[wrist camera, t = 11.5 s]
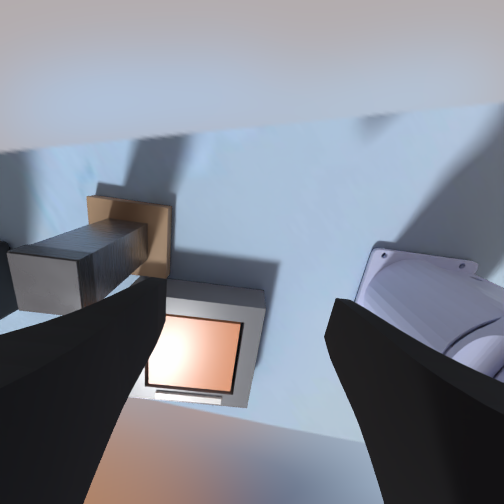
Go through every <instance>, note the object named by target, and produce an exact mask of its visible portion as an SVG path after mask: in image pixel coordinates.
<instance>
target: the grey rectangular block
mask: <svg viewBox="0 0 504 504" xmlns="http://www.w3.org/2000/svg"><path fill="white" fill-rule="evenodd" d="M7 252H8V253H7V258H8V262H9V267H10V272H11V276H12V281H13V285H14V290H15V295H16V299H17V304H18V309H19V310H20V311H29V312H38V313H47V314H56V315H66V314H69V313H71V312H74V311H76V310H79V309H82V308H84V307H86V306H89V305H91V304H93V303H96V302H98V301H100V300H102V299H104V298H105V297H106V296H107V295H108V294H109V293H110V292H111V291H113V290H114V289H115V288H116V287H117V286H118V285H119V284H120V283H122V282H123V281H124V280H125V279H126V278H127V277H128V276H129V275H131V274H132V273H133V272H134V271H135V270H136V269H137V268H138V267H140V266H141V265H142V264H143V263H144V262H145V261H146V260H147V259H148V223H142V222H134V221H127V220H119V219H112V218H107V219H104V220H101V221H98V222H95V223H92V224H89V225H86V226H83V227H81V228H78V229H75V230H72V231H69V232H66V233H63V234H60V235H57V236H55V237H52V238H49V239H46V240H43V241H40V242H37V243H34V244H31V245H28V244H27V245H24V246H21V247H18V248H15V249H12V250H9V251H7Z"/></svg>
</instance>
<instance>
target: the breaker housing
mask: <svg viewBox="0 0 504 504" xmlns="http://www.w3.org/2000/svg"><path fill="white" fill-rule="evenodd" d="M148 278H151V277H148V276H140V277H139V278H138V279H137V280H136V281H135V282H134V283H133V284H132V285H131V286H133V285H135V284H137V283H139V282H141V281H143V280H145V279H148ZM155 278H156V277H155ZM166 279H167V278H166ZM131 286H130V287H131ZM265 311H266V305H265V297H264V290H256V289H248V288H240V287H232V286H224V285H216V284H207V283H199V282H191V281H183V280H175V279H167V292H166V314H174V315H183V316H192V317H201V318H209V319H218V320H227V321H235V322H242V326H241V333H240V339H239V345H238V352H237V358H236V364H235V369H234V370H233V376H232V383H231V389H230V391H221V390H211V389H201V388H190V387H180V386H170V385H159V384H149V359H148V361H147V363H146V365H145V367H144V369H143V370H142V372H141V374H140V376H139V378H138V380H137V382H136V383H135V385H134V387H133V389H132V391H131V393H130V394H129V396H128V397H132V398H143V399H154V400H165V401H176V402H186V403H197V404H208V405H219V406H230V407H240V408H247V405H248V400H249V394H250V389H251V384H252V379H253V374H254V368H255V363H256V358H257V353H258V348H259V342H260V337H261V332H262V327H263V322H264V316H265Z"/></svg>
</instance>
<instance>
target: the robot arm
mask: <svg viewBox="0 0 504 504" xmlns="http://www.w3.org/2000/svg"><path fill="white" fill-rule="evenodd" d="M383 253H385V255H384V256H383V257H381V256H382V254H383ZM460 264H461V266H460V267H459V265H460ZM477 269H478V263H476V262H474V261H469V260H462V259H455V258H448V257H441V256H433V255H426V254H419V253H412V252H405V251H397V250H390V249H383V248H375V249H374V250H372V252H371V255H370V258H369V261H368V264H367V267H366V270H365V273H364V276H363V279H362V282H361V285H360V288H359V291H358V294H357V297H356V300H355V302H353V301H351V300H348V299H339V298H336V299H335V303H334V306H333V309H332V312H331V316H330V319H329V322H328V326H327V329H326V332H325V335H324V338H325V342H326V346H327V349H328V352H329V356H330V359H331V361H332V364H333V366H334V368H335V371H336V373H337V375H338V378H339V380H340V382H341V384H342V386H343V389H344V391H345V393H346V395H347V398H348V400H349V402H350V404H351V407H352V409H353V411H354V414H355V416H356V419H357V421H358V424H359V426H360V429H361V432H362V435H363V438H364V441H365V444H366V446H367V450H368V453H369V455H370V458H371V462H372V465H373V468H374V471H375V475H376V478H377V481H378V484H379V487H380V491H381V494H382V497H383V501H384V504H504V288H503V287H501V286H499V285H497V284H494V283H492V282H490V281H488V280H486V279H484V278H481V277H479V276H477V275H475V273H476V271H477ZM166 292H167V279H164V278H155V277H151V278H148V279H145V280H143V281H141V282H139V283H137V284H135V285H133V286H131V287H129V288H126V289H124V290H122V291H120V292H118V293H116V294H114V295H112V296H110V297H107V298H105V299H103V300H100V301H98V302H96V303H93V304H91V305H89V306H86V307H84V308H82V309H79V310H76V311H74V312H71V313H69V314H66V315H63V316H60V317H57V318H54V319H51V320H49V321H46V322H43V323H39V324H36V325H33V326H29V327H26V328H22V329H19V330H15V331H12V332H8V333H5V334H1V335H0V504H83V503H84V500H85V498H86V495H87V493H88V490H89V488H90V485H91V482H92V480H93V477H94V475H95V473H96V470H97V468H98V465H99V463H100V460H101V458H102V456H103V453H104V451H105V448H106V446H107V443H108V441H109V439H110V436H111V434H112V432H113V429H114V427H115V425H116V422H117V420H118V418H119V415H120V413H121V410H122V408H123V406H124V404H125V402H126V400H127V398H128V396H129V394H130V393H131V391H132V389H133V387H134V385H135V383H136V382H137V380H138V378H139V376H140V374H141V372H142V370H143V369H144V367H145V365H146V363H147V361H148V359H149V358H150V356H151V354H152V352H153V350H154V348H155V346H156V344H157V342H158V340H159V337H160V335H161V332H162V330H163V327H164V324H165V321H166Z"/></svg>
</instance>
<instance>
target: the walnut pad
mask: <svg viewBox="0 0 504 504" xmlns="http://www.w3.org/2000/svg"><path fill="white" fill-rule="evenodd" d="M87 208H88V220H89V224H92V223H95V222H98V221H101V220H104V219H107V218H112V219H119V220H127V221H134V222H142V223H148V259H147V260H146V261H145V262H144V263H143V264H142V265H141V266H140V267H138V268H137V269H136V270H135V271H134V272H133V273H132V275H140V276H148V277H156V278H164V279H166V278H167V277H168V276H169V274H170V253H171V222H172V206H168V205H161V204H154V203H147V202H140V201H133V200H126V199H119V198H112V197H105V196H98V195H92V196H87Z"/></svg>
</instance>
